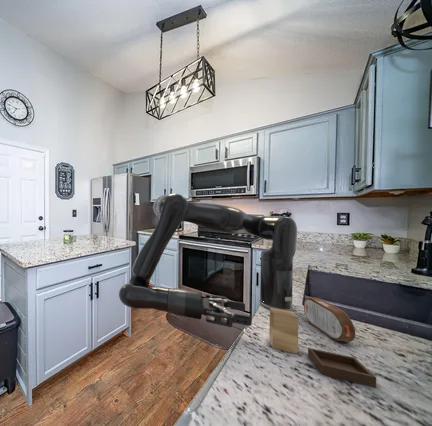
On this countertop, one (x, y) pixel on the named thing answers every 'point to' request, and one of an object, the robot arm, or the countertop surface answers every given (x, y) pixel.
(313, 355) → the frame
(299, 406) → the countertop surface
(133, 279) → the robot arm
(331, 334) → the tin
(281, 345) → the block
